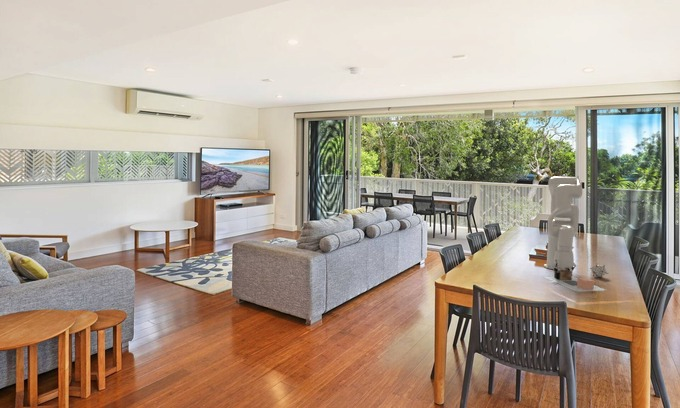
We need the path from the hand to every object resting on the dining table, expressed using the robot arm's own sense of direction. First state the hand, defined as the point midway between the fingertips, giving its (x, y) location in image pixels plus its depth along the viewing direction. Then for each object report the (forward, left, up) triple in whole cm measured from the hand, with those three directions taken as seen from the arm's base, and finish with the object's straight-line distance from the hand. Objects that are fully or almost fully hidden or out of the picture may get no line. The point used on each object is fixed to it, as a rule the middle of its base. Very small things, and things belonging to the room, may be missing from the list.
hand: (562, 278), depth 246 cm
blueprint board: (0, +9, -1) cm, 9 cm away
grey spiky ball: (-27, -4, -2) cm, 27 cm away
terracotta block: (0, +18, 0) cm, 18 cm away
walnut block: (0, 0, 0) cm, 0 cm away
